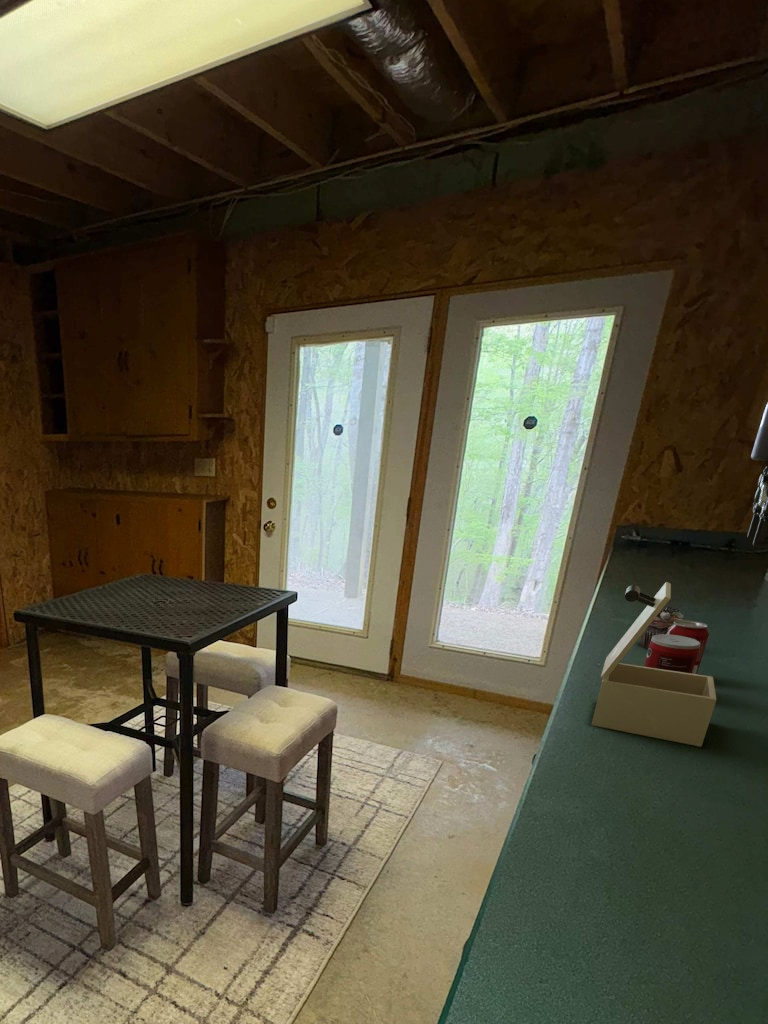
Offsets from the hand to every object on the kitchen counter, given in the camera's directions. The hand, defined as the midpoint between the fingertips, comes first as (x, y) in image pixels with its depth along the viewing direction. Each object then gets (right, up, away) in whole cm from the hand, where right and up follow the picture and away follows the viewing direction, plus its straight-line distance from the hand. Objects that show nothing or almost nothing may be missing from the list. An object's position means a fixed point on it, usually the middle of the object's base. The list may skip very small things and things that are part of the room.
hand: (759, 543), depth 91 cm
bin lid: (-3, -11, +19) cm, 22 cm away
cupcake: (+34, -12, +61) cm, 71 cm away
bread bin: (+1, -28, +23) cm, 36 cm away
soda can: (+23, -19, +43) cm, 53 cm away
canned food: (+15, -22, +37) cm, 45 cm away
